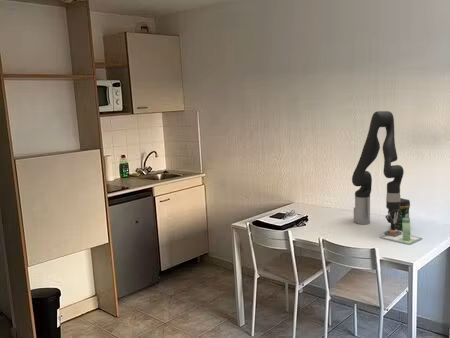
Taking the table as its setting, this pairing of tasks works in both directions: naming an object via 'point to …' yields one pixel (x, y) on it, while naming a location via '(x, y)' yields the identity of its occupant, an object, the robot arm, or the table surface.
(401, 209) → the coffee jar
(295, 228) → the table surface
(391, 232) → the button
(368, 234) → the table surface
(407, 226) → the marker
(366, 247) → the table surface
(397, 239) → the board
